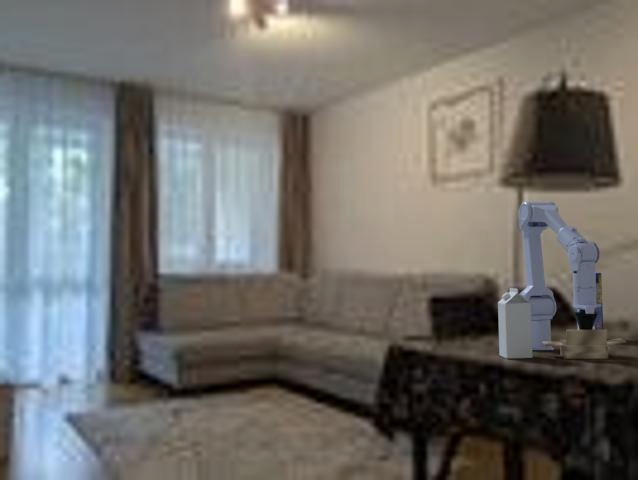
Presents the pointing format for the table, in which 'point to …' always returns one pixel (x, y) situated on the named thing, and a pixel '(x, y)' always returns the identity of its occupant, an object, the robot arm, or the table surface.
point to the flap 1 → (586, 337)
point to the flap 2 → (615, 341)
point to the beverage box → (599, 310)
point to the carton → (579, 350)
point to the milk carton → (514, 326)
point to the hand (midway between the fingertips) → (586, 338)
